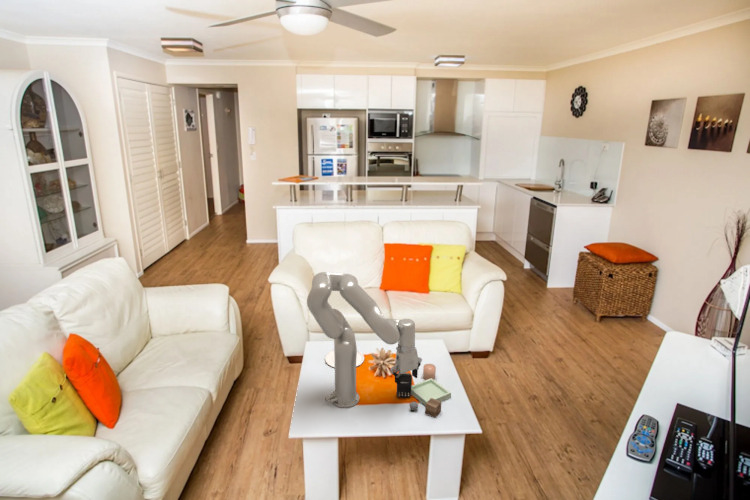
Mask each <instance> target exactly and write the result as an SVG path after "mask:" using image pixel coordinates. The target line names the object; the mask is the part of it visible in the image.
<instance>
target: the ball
mask: <svg viewBox="0 0 750 500" xmlns="http://www.w3.org/2000/svg"><path fill="white" fill-rule="evenodd" d="M418 407H419V405H418V403H417V401H411V402H410V404H409V408H410V409H411V410H412V411H416V410H418Z"/></svg>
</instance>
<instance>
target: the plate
mask: <svg viewBox="0 0 750 500" xmlns="http://www.w3.org/2000/svg"><path fill="white" fill-rule="evenodd" d="M324 361H325V363H326V364H327V365H328V366H329V367H331V368H334V369H335V355H334V350H331V351H330V352H327V354H326V355H325V357H324ZM364 361H365V355H364V354H363V353H362V352H361V351H359V350H357V355H356V368H357V367H359V366H362V364H363V363H364Z"/></svg>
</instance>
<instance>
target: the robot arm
mask: <svg viewBox="0 0 750 500" xmlns="http://www.w3.org/2000/svg"><path fill="white" fill-rule="evenodd" d="M333 292H339V294H340V296H341V298H343V300H345V302H346V303H348V305H350V306H351V307H352V308H353V309H354V310H355V311H356V312H357V313H358V314H359V316H361V318H362V319H363V321H365V323H366V324H367V325H368V327H370V329H371V330H372V332H374V333H375V335H376V336H378V338H380V340H381V341H382V342H383V343H385V344H387V345H391V346H392V345H396V344H397V346H396V347H395V350H396V353H395V362H394V363H395V364H394V365H393V366H392V367H391V368H390V369H389V371H390V373H391V374H392V375H393V376H394V383H395V384H396V385H397V384H398V385H400V377H399V376H400V374H403V373H409V372H411V375H412V377H414V378H415V379H418V374H419V373H418V371H419V370H420V366H421V364H422V361H423V358H421V357H419V355H418V350H417V347H416V339H415V338H416V323H415V322H414V320H412V319H411V318H410V319H409V318H402V319H397V318H396V319H395V318H386V317H385V316H384V314H383V312H382V311H381V309H380V307H379V305H378V304H377V301H375V300H374V299H373V298H372V297H371V296H370V295H369V294H368V292H367V291H365V290H364V289H363V287H361V285H359V282H358V279H357V277H356V276H355V275H352V274H349V273H345V272H344V273H342V272H330V271H329V272H327V271H322V272H318V273H316V274H315V275H314V276H313V278H312V282H311V289H310V290H309V293H308V296H307V298H306V304H307V305H306V306H307V308H308V310H309V312H310V313H311V315H312V317H313V319H314V320H315V321H316V323H317V324H318V326H319V328H320V329H321V330H322V333H323V334H324V335H325V336H326V337H327V338H328V339H332V340H333V342H334V343H333V346H334V347H333V351H334V355H335V368H334V390H332V393H331V394H330V395H327V396H325V397H324V400H325V402H328V401H329V402H330V403H332V404H333V405H335V406H336V407H337V408H343V409H344V408H345V409H347V408H352V407H354V406H356V405H357V404H358V403H359V401H360V395H359V393H358V392H357V367H356V355H357V351H358V350H357V349H358V348H357V340H356V336H355V331H354V330H353V328H352V327H351V325H350V324H349V322H348V320H347V319H346V317H345V316H344V314H343V313H342V312H341V311H340V310H339V309H336V308H333V307H332V306H331V305H330V302H328V300H329V298H330V296H331V294H332V293H333Z"/></svg>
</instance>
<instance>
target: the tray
mask: <svg viewBox="0 0 750 500" xmlns="http://www.w3.org/2000/svg"><path fill="white" fill-rule="evenodd" d="M411 396H413V397H414V398H415V399H416V400H417V401H419V403H421V404H422V405H423V406H425V407H426V403H427V402H428V401H429V400H430V399H431V398H433V399H435V400H438V401H440V402H443V401H446V400H448V399H450V398H451V397H452V392H450V391H449V390H448V389H447V388H445V387H444V385H441V384H440V383H439V382H437V381H436V380H433V379H432V378H431V379H428V380H423V381H421V382H417V383H415V384H412V387H411Z"/></svg>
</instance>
